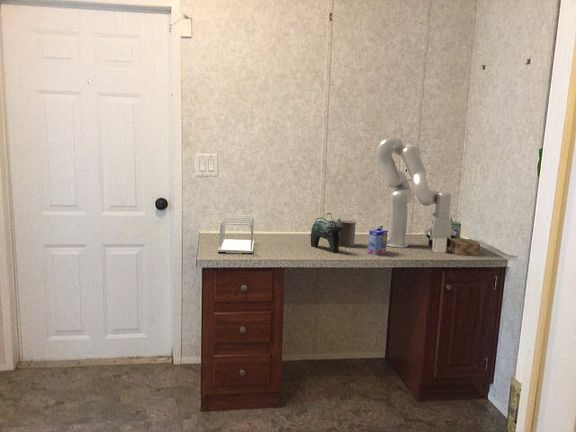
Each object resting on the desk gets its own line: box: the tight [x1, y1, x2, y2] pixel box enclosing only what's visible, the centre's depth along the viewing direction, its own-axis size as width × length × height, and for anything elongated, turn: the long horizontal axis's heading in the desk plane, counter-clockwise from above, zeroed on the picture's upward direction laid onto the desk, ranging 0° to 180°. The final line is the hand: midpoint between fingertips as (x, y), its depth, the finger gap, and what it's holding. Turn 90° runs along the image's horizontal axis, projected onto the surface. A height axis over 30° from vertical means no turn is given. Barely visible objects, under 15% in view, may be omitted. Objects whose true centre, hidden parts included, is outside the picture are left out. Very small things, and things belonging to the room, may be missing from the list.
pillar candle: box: [338, 219, 356, 248], centre depth 277 cm, size 10×10×15 cm
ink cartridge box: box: [367, 225, 389, 256], centre depth 262 cm, size 10×6×14 cm, turn 136°
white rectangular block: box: [431, 237, 447, 254], centre depth 270 cm, size 6×6×9 cm
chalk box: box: [447, 215, 462, 239], centre depth 296 cm, size 9×9×15 cm
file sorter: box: [217, 214, 255, 255], centre depth 263 cm, size 25×17×16 cm
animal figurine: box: [310, 212, 343, 254], centre depth 265 cm, size 20×6×20 cm, turn 41°
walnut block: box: [448, 238, 481, 256], centre depth 270 cm, size 12×12×6 cm
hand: (439, 246), depth 271 cm, fingers open, 9 cm apart
